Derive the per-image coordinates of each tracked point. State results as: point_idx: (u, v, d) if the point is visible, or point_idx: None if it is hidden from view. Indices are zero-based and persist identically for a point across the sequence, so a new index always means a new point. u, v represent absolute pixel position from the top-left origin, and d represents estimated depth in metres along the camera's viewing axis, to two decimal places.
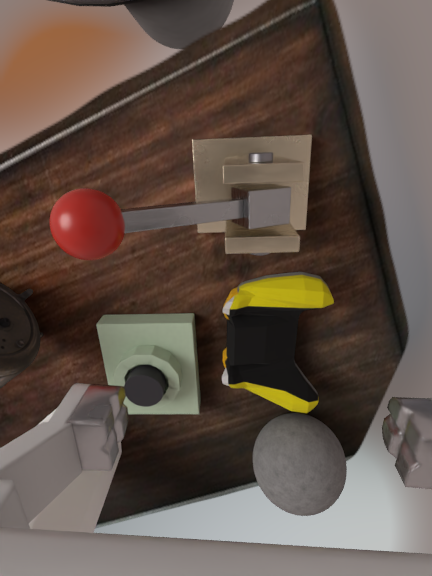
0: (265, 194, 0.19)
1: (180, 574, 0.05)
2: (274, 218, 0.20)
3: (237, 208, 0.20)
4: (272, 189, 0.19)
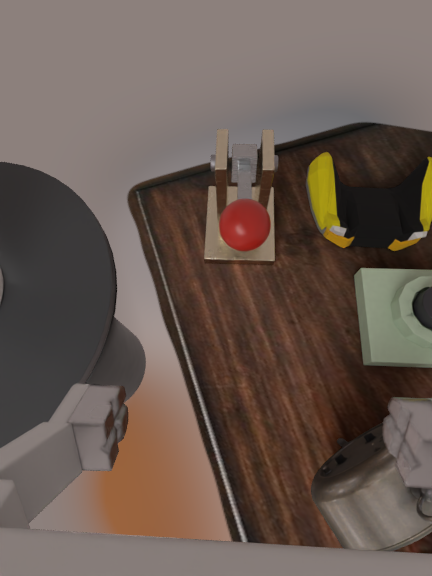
0: (235, 151, 0.30)
1: (180, 574, 0.05)
2: (251, 148, 0.30)
3: (243, 166, 0.29)
4: (232, 149, 0.30)
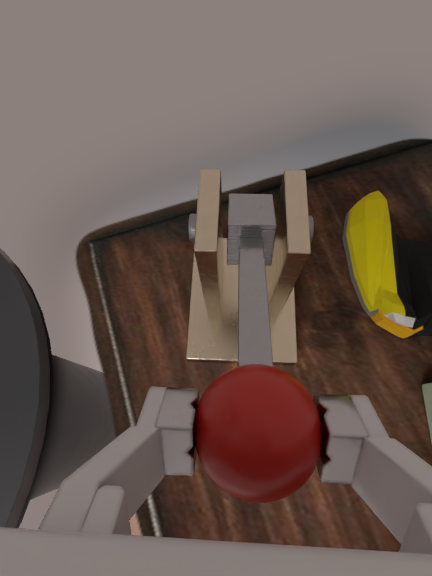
0: (234, 211, 0.16)
1: (180, 574, 0.05)
2: (264, 204, 0.16)
3: (249, 242, 0.15)
4: (229, 206, 0.16)
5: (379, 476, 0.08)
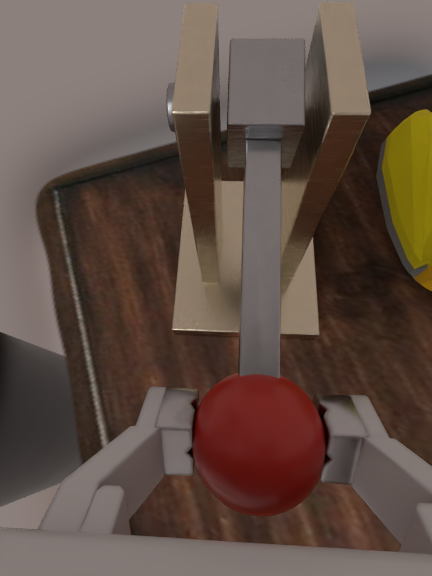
0: (238, 90, 0.10)
1: (180, 574, 0.05)
2: (289, 70, 0.10)
3: (261, 151, 0.10)
4: (230, 76, 0.10)
5: (379, 476, 0.08)
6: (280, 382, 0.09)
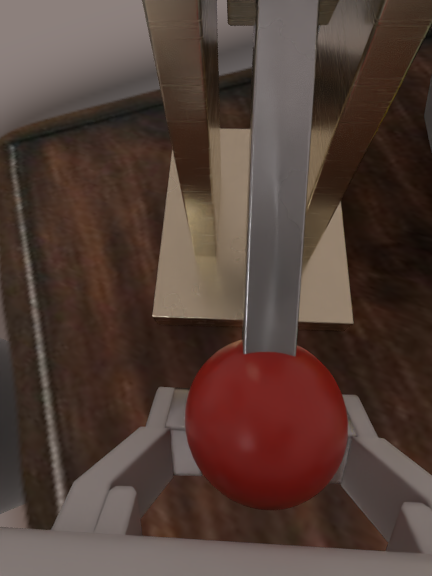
0: None
1: (180, 574, 0.05)
2: None
3: None
4: None
5: (367, 475, 0.08)
6: (296, 364, 0.07)
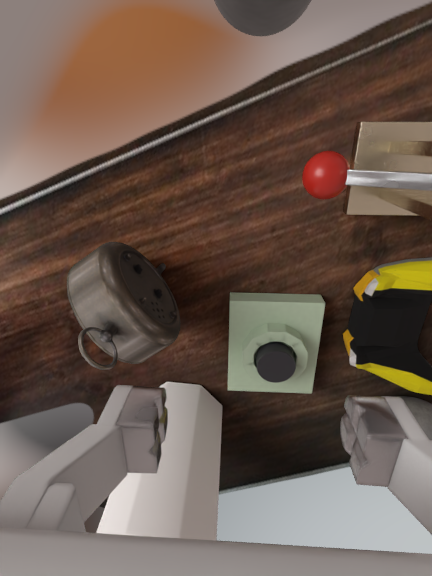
0: None
1: (180, 574, 0.05)
2: None
3: None
4: None
5: (420, 478, 0.08)
6: (342, 184, 0.25)
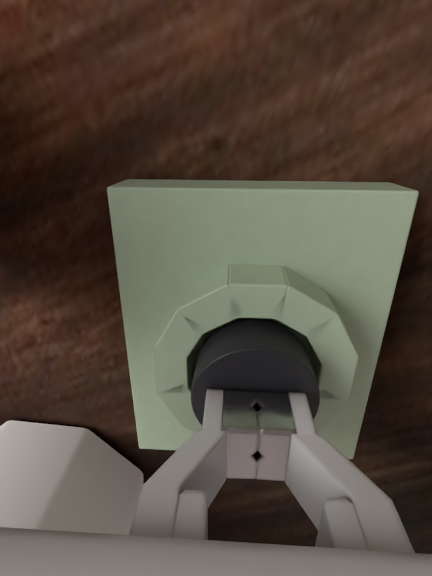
0: None
1: (180, 574, 0.05)
2: None
3: None
4: None
5: (305, 472, 0.08)
6: None
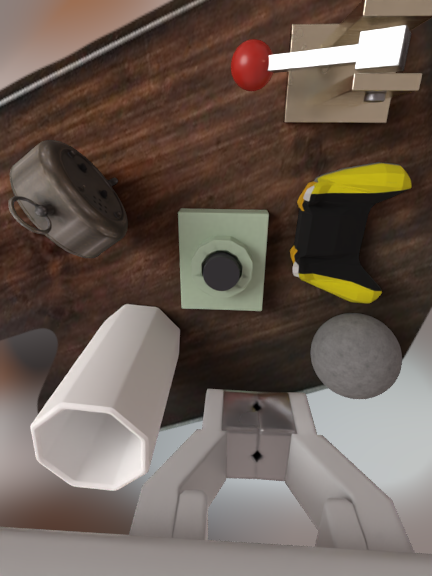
0: (376, 34, 0.22)
1: (180, 574, 0.05)
2: (382, 59, 0.22)
3: (353, 52, 0.23)
4: (384, 28, 0.22)
5: (305, 472, 0.08)
6: (265, 70, 0.27)
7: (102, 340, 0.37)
